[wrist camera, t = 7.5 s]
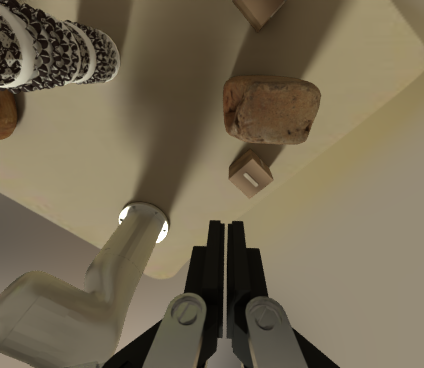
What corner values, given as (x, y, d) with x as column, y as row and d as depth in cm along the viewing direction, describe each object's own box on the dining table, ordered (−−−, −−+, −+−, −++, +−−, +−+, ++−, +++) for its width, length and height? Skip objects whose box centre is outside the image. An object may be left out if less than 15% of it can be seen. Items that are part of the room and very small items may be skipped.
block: (287, 76, 39) (334, 79, 21) (279, 119, 42) (313, 154, 24) (225, 72, 39) (220, 72, 21) (222, 115, 42) (215, 147, 25)
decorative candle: (132, 53, 39) (-1, 28, 17) (107, 95, 42) (-28, 120, 20) (86, 12, 37) (-138, -81, 14) (64, 60, 40) (-141, 45, 18)
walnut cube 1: (248, 185, 49) (250, 199, 44) (229, 167, 47) (228, 179, 42) (270, 167, 47) (275, 180, 41) (250, 147, 45) (253, 158, 40)
